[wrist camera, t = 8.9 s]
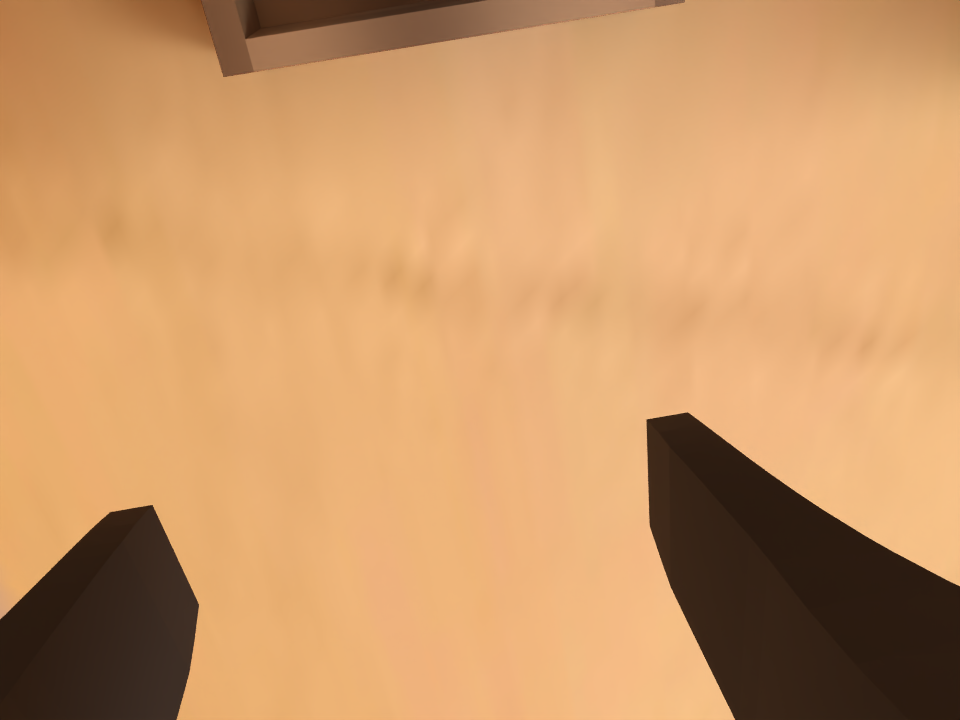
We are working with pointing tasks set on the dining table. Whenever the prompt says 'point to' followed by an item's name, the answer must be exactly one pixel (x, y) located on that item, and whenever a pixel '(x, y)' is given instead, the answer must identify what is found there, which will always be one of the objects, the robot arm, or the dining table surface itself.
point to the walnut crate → (374, 25)
